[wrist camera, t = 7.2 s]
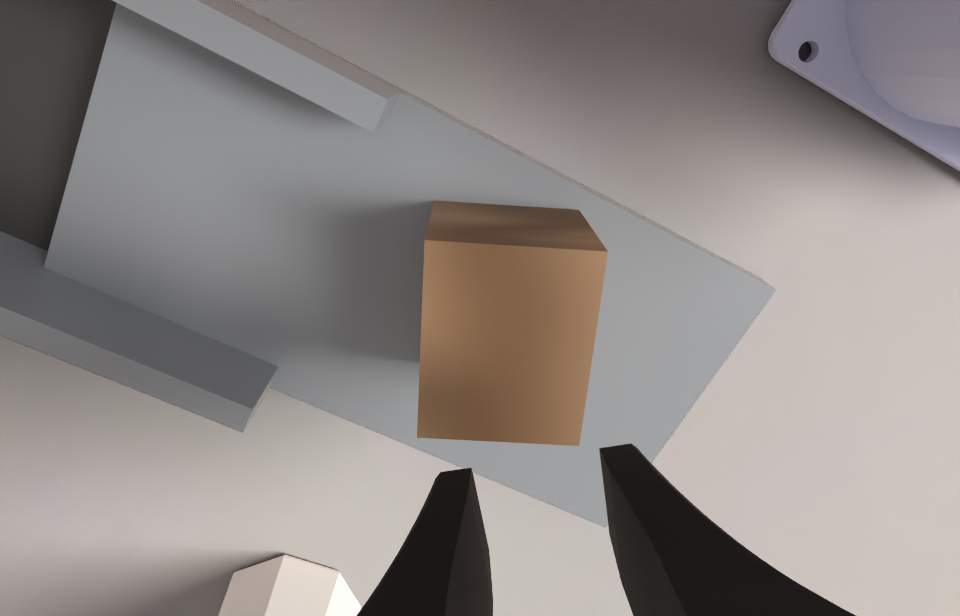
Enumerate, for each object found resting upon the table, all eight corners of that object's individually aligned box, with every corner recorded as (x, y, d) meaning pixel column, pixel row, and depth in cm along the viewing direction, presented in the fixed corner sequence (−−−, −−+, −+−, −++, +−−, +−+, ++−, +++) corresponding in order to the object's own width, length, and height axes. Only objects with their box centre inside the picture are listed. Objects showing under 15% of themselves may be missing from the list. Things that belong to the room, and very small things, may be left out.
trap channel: (762, 278, 20) (819, 324, 16) (599, 508, 23) (621, 584, 20) (-155, -202, 15) (-329, -273, 12) (-201, 169, 18) (-349, 195, 15)
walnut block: (579, 209, 18) (607, 251, 14) (558, 371, 20) (579, 446, 16) (434, 200, 18) (424, 239, 14) (427, 363, 19) (416, 437, 16)
